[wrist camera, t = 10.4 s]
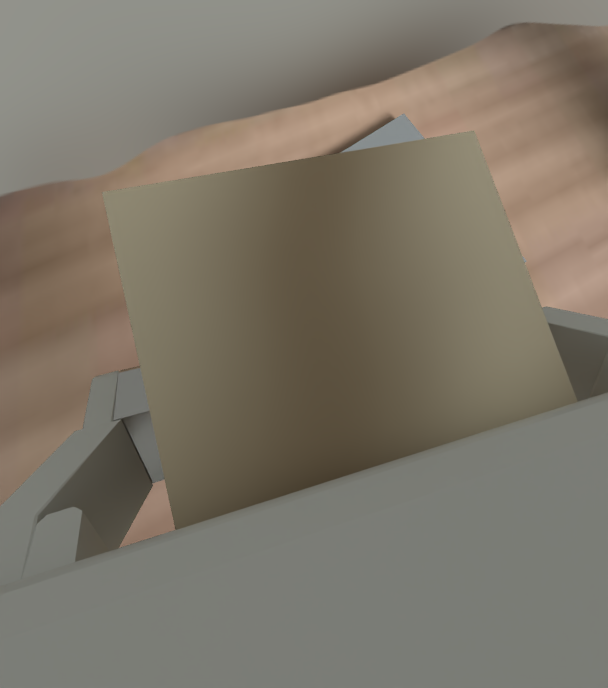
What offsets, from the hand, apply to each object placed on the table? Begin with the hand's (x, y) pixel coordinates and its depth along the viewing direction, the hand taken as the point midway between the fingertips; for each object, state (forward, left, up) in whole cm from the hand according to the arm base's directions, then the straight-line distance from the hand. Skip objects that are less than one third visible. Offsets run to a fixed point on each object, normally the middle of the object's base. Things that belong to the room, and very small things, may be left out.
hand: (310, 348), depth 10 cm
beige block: (0, +1, -4) cm, 4 cm away
